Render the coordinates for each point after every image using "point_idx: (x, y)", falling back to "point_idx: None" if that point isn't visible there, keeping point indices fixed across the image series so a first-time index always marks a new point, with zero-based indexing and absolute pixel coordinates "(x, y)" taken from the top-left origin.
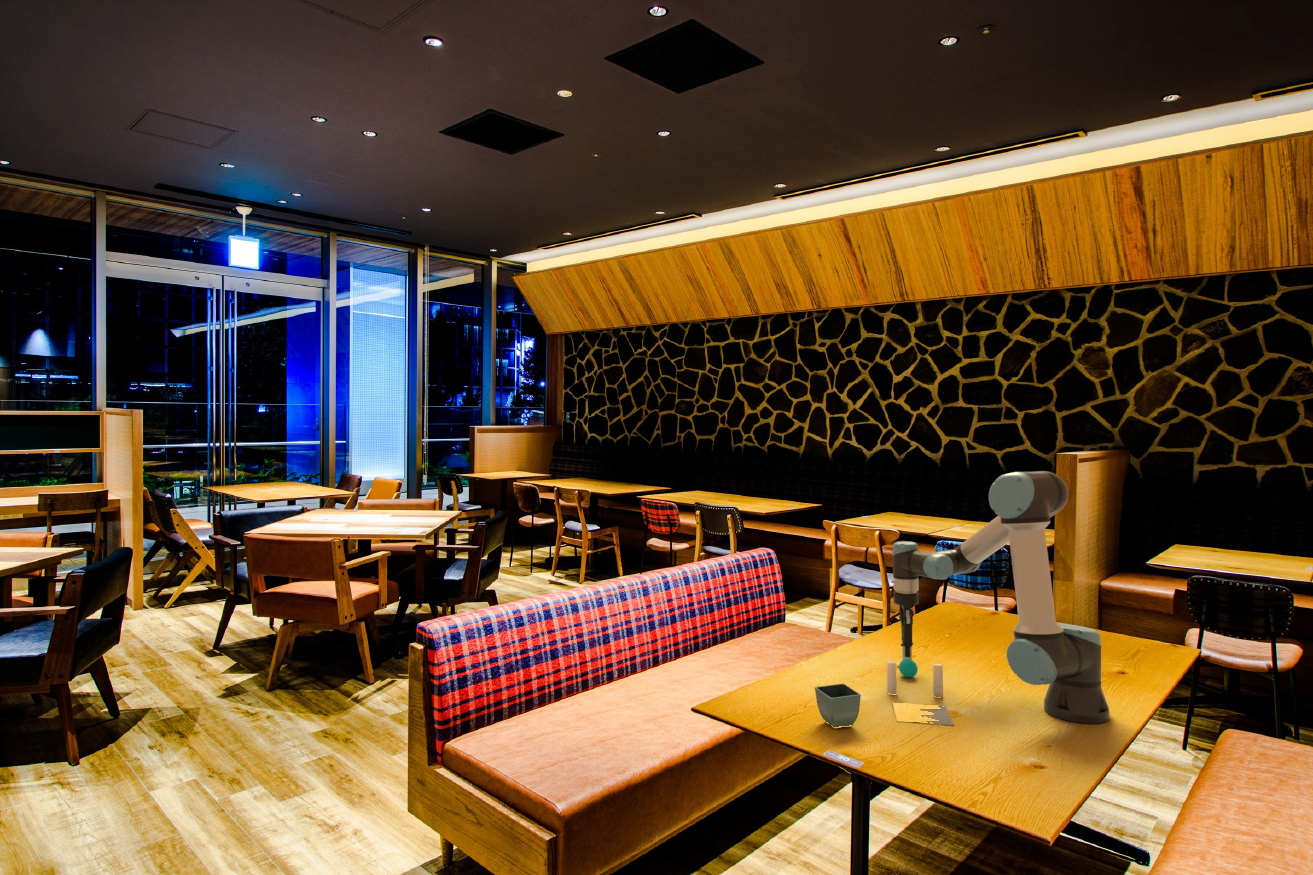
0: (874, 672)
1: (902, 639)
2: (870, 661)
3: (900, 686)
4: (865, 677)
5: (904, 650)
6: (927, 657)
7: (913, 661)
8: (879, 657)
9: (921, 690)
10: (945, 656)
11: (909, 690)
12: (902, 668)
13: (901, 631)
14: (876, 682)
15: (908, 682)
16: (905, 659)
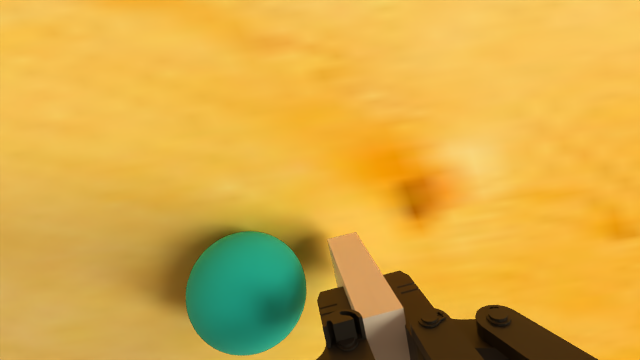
0: (250, 69)
1: (437, 340)
2: (466, 11)
3: (57, 252)
4: (114, 26)
5: (352, 307)
6: (607, 292)
7: (245, 352)
8: (560, 56)
9: (55, 355)
10: (636, 357)
11: (15, 305)
12: (193, 269)
13: (590, 357)
14: (49, 112)
15: (155, 278)
16: (236, 309)
